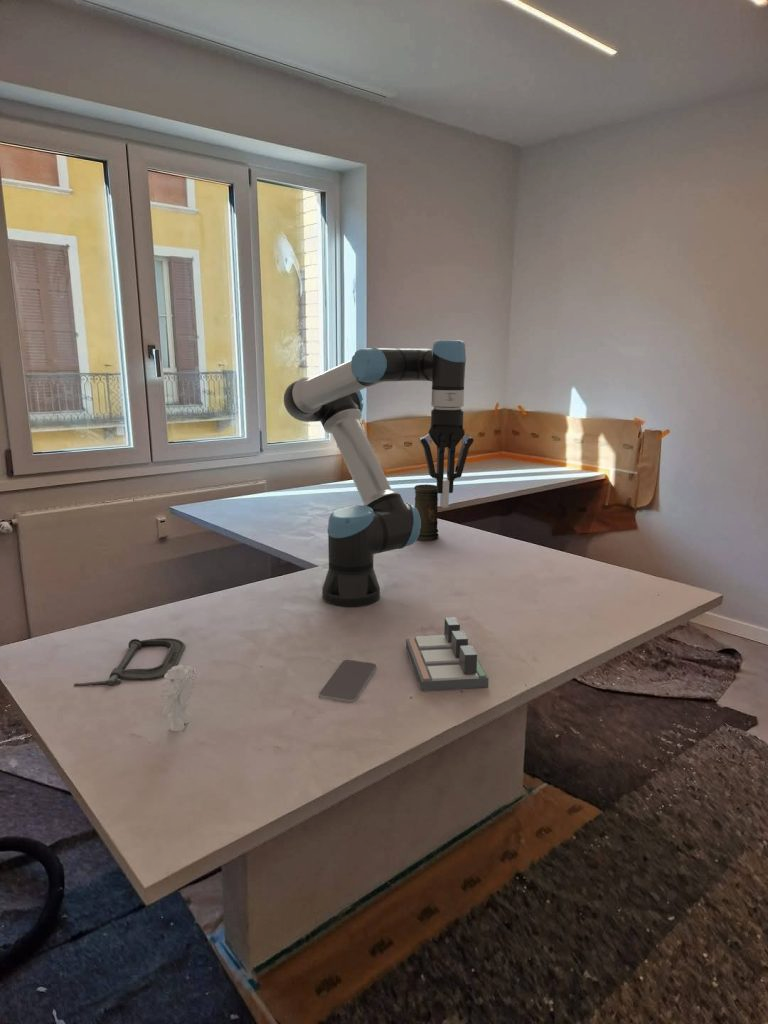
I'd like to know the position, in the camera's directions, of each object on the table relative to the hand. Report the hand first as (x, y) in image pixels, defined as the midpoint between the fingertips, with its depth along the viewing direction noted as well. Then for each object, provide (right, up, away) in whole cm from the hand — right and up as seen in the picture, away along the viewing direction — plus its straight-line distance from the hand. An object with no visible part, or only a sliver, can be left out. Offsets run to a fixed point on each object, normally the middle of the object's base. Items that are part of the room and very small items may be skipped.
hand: (444, 506), depth 158 cm
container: (0, -10, +68) cm, 69 cm away
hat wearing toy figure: (-50, -38, -46) cm, 78 cm away
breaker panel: (-2, -33, -24) cm, 41 cm away
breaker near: (+2, -32, -31) cm, 45 cm away
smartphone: (-22, -35, -30) cm, 51 cm away
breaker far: (0, -29, -18) cm, 34 cm away
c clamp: (-65, -33, -23) cm, 77 cm away
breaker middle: (+1, -30, -24) cm, 39 cm away
